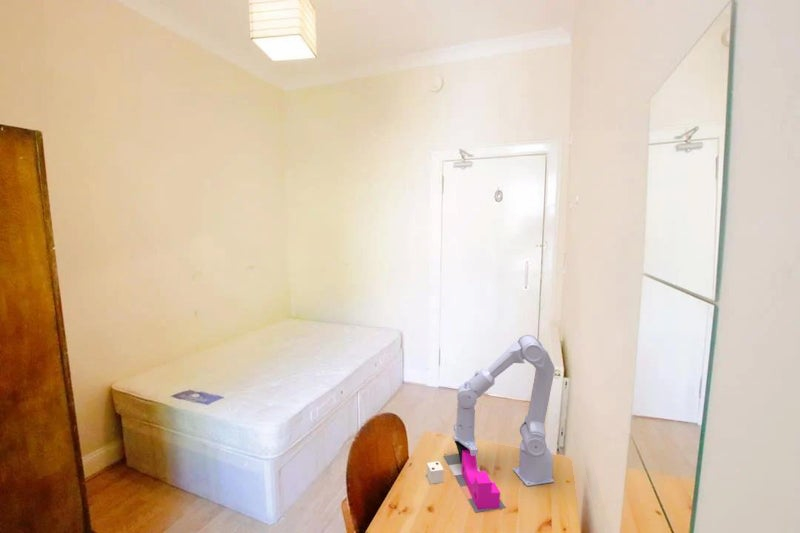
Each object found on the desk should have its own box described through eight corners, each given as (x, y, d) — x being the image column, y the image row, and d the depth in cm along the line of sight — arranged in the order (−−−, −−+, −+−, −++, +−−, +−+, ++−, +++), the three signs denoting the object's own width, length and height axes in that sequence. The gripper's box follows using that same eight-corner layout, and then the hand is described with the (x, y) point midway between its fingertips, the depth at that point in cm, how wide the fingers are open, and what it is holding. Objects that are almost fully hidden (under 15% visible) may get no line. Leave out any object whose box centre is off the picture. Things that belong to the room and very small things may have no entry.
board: (467, 454, 119) (467, 452, 119) (505, 509, 95) (505, 507, 95) (443, 457, 117) (443, 455, 117) (475, 514, 93) (475, 512, 93)
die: (438, 473, 108) (439, 461, 108) (443, 482, 105) (443, 469, 104) (426, 475, 108) (427, 462, 107) (430, 483, 104) (431, 471, 103)
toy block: (499, 507, 95) (500, 482, 94) (477, 509, 94) (478, 483, 93) (480, 471, 110) (481, 449, 109) (461, 472, 109) (462, 450, 108)
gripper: (445, 413, 117) (444, 451, 118) (462, 436, 103) (461, 480, 104) (465, 411, 118) (463, 448, 119) (484, 434, 104) (482, 477, 105)
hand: (464, 463), depth 111 cm, fingers closed
